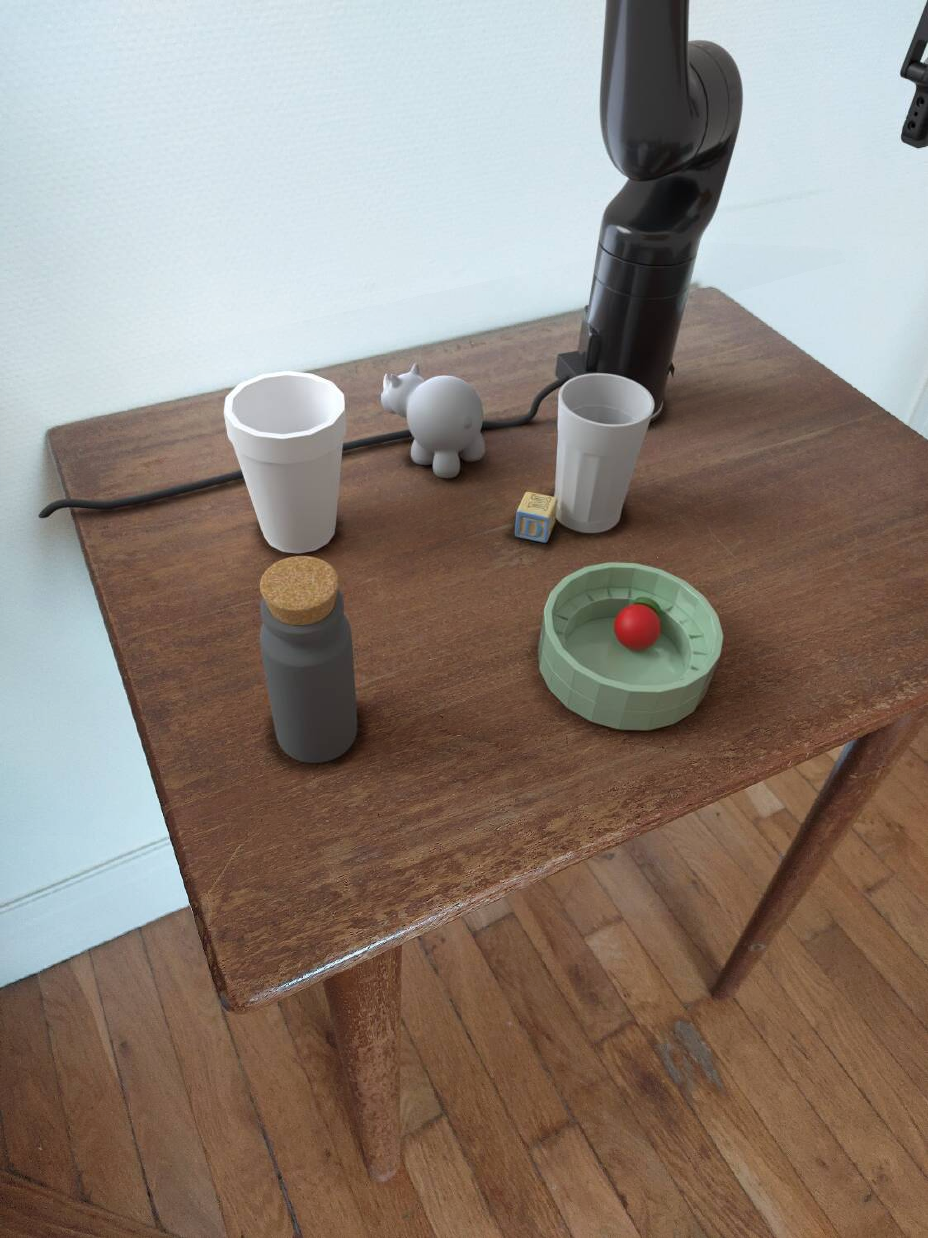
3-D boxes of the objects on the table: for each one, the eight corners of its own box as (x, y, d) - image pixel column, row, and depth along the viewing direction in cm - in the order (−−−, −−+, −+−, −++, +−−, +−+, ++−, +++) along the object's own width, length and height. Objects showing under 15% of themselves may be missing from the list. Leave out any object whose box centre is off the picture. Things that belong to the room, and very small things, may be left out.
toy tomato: (621, 624, 68) (640, 584, 70) (599, 639, 71) (618, 601, 73) (660, 650, 69) (677, 609, 71) (636, 664, 72) (654, 625, 74)
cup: (640, 499, 86) (666, 388, 77) (613, 549, 81) (638, 436, 72) (561, 474, 88) (577, 364, 79) (530, 522, 83) (544, 409, 74)
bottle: (278, 700, 67) (253, 549, 56) (357, 697, 68) (348, 547, 57) (273, 766, 63) (246, 617, 52) (358, 762, 64) (347, 615, 53)
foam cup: (277, 486, 85) (261, 361, 75) (369, 510, 83) (363, 385, 73) (226, 549, 78) (201, 421, 69) (323, 577, 76) (311, 450, 67)
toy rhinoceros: (413, 408, 95) (413, 333, 88) (496, 460, 89) (502, 383, 83) (360, 434, 91) (356, 358, 85) (443, 490, 85) (445, 413, 79)
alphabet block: (513, 536, 81) (516, 510, 79) (522, 515, 83) (525, 489, 81) (546, 544, 81) (550, 518, 78) (554, 523, 83) (558, 497, 81)
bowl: (543, 732, 66) (550, 689, 63) (533, 603, 75) (539, 559, 72) (721, 737, 67) (739, 694, 63) (690, 608, 76) (704, 564, 72)
